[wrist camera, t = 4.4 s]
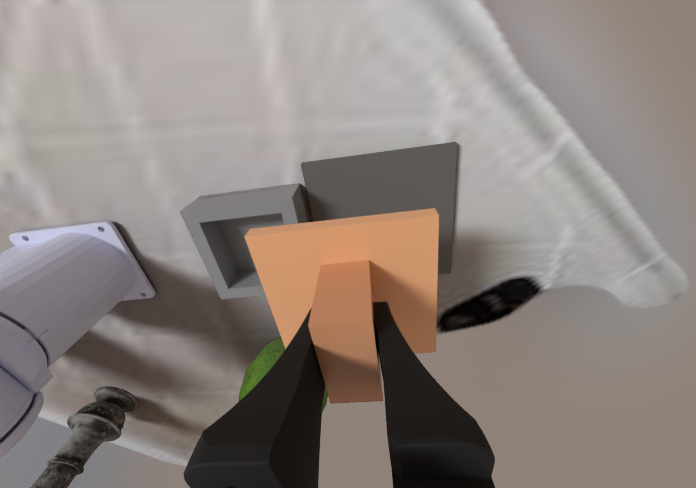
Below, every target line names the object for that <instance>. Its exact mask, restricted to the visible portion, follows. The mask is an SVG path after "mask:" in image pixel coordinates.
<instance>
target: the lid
mask: <svg viewBox="0 0 696 488" xmlns="http://www.w3.org/2000/svg"><path fill="white" fill-rule="evenodd" d="M244 237H245V240H246V242H247V245H248V248H249V251H250V253H251V256H252V259H253V262H254V264H255V267H256V270H257V272H258V275H259V278H260V281H261V283H262V286H263V289H264V292H265V294H266V297H267V300H268V303H269V305H270V308H271V311H272V313H273V316H274V319H275V322H276V324H277V327H278V330H279V333H280V335H281V338H282V341H283V344H284V346H285V349H286V348H287V346H288V345H289V343H290V342H291V340H292V339H293V337H294V336H295V334H296V333H297V331H298V330H299V328H300V326H301V325H302V323H303V321H304V319H305V318H306V316H307V314H308V312H309V310H310V309H311V308H312V309H311V314H310V319H309V324H308V327H309V330H310V334H311V337H312V341H313V344H314V348H315V351H316V354H317V358H318V361H319V365H320V368H321V372H322V375H323V379H324V382H325V386H326V389H327V392H328V396H329V399H330V403H349V402H370V401H383V396H382V382H381V369H380V359H379V353H378V345H377V337H376V329H375V321H374V312H373V302H383V301H386V302H388V305H389V308H390V311H391V313H392V316H393V318H394V320H395V322H396V324H397V326H398V328H399V330H400V332H401V333H402V335H403V337H404V339H405V340H406V342H407V343H408V345H409V347H410V348H411V350H412V351H413V352H414V353H428V352H436V321H437V280H438V239H439V214H438V213H437V211H436V209H435V208H431V209H422V210H414V211H405V212H396V213H387V214H378V215H369V216H360V217H351V218H343V219H334V220H325V221H316V222H307V223H298V224H289V225H281V226H272V227H263V228H254V229H250V230H249V231H248V232H247V234H246V235H245V236H244Z"/></svg>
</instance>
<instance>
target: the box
mask: <svg viewBox="0 0 696 488" xmlns="http://www.w3.org/2000/svg"><path fill="white" fill-rule="evenodd" d="M180 213H181V215H182V217H183V220H184V222H185V224H186V226H187V228H188V230H189V232H190V234H191V237H192V239H193V241H194V243H195V245H196V247H197V249H198V251H199V254H200V256H201V258H202V260H203V262H204V264H205V266H206V268H207V271H208V273H209V275H210V277H211V279H212V281H213V283H214V285H215V288H216V290H217V292H218V294H219V296H220V298H221V299H231V298H242V297H253V296H264V295H266V294H265V292H264V289H263V286H262V283H261V281H260V278H259V275H258V272H257V270H256V267H255V264H254V262H253V259H252V256H251V253H250V251H249V248H248V245H247V242H246V240H245V237H244V236H245V235H246V234H247V232H248V231H249V230H250V229H254V228H263V227H272V226H281V225H289V224H298V223H307V222H308V218H307V213H306V209H305V204H304V200H303V196H302V191H301V187H300V183H299V184H292V185H284V186H276V187H268V188H261V189H253V190H245V191H237V192H229V193H222V194H214V195H206V196H200V197H199V198H197V199H196V200H195V201H193V202H192V203H190V204H189V205H188V206H186V207H185V208H184V209H182V210H181V211H180Z"/></svg>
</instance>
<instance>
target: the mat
mask: <svg viewBox="0 0 696 488" xmlns="http://www.w3.org/2000/svg"><path fill="white" fill-rule="evenodd" d="M456 160H457V143H456V142H452V143H445V144H437V145H430V146H422V147H415V148H408V149H400V150H393V151H385V152H378V153H371V154H363V155H356V156H349V157H341V158H334V159H326V160H319V161H312V162H304V163H301V167H302V172H303V176H304V181H305V185H306V190H307V194H308V199H309V204H310V208H311V213H312V217H313V222H316V221H325V220H334V219H343V218H351V217H360V216H369V215H378V214H387V213H396V212H405V211H414V210H422V209H431V208H435V209H436V211H437V213H438V214H439V239H438V274H446V273H451V255H452V236H453V217H454V198H455V179H456Z"/></svg>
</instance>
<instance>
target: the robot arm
mask: <svg viewBox="0 0 696 488" xmlns="http://www.w3.org/2000/svg"><path fill="white" fill-rule="evenodd" d="M102 227H103V228H104V229H103V228H102ZM9 239H10V240H11V242H12V243H13V244H14V245H15V246H14V247H12V248H10V249H8V250H6V251H4V252H2V253H0V458H2V457H3V456H4V455H5V454H6V453H7V452H8V451H10V450H11V449H12V448H13V447H14V446H15V445H16V444H17V443H18V442H19V441H20V440H21V438H22V437H23V436H24V435H25V434H26V432H27V431H28V430H29V428H30V427H31V426H32V424H33V422H34V421H35V419H36V418H37V416H38V414H39V412H40V411H41V408H42V405H43V402H44V397H43V394H42V393H41V392H40V391H39V390H40V389H42V388H43V387H44V386H45V385H46V384H47V383H48V382H49V381H50V380H51V379H52V378H53V375H52V374H51V373H50V371H49V370H48V368H49V367H50V366H51V365H52V364H53V363H54V362H55V361H56V360H57V359H58V358H60V357H61V356H62V355H63V354H64V353H65V352H66V351H67V350H68V349H69V348H70V347H71V346H72V345H74V344H75V343H76V342H77V341H78V340H79V339H80V338H81V337H82V336H83V335H84V334H85V333H87V332H88V331H89V330H90V329H91V328H92V327H93V326H94V325H95V324H96V323H97V322H98V321H99V320H101V319H102V318H103V317H104V316H105V315H106V314H107V313H108V312H109V311H110V310H111V309H112V308H114V307H115V306H116V305H117V304H118V303H119V302H120V301H126V300H137V299H147V298H153V297H154V296H155V295H156V292H155V290H154V289H153V287H152V285H151V284H150V282H149V280H148V279H147V277H146V276H145V274H144V272H143V271H142V269H141V267H140V266H139V264H138V262H137V261H136V259H135V258H134V256H133V254H132V253H131V251H130V249H129V248H128V246H127V244H126V243H125V241H124V239H123V238H122V236H121V235H120V233H119V231H118V230H117V228H116V226H115V225H114V224H113V223H112V222H109V221H105V222H97V223H89V224H81V225H73V226H64V227H56V228H48V229H40V230H32V231H24V232H16V233H13V234H11V235H9ZM144 293H145V294H144ZM311 309H312V308H311ZM311 309H310V310H309V312H308V314H307V316H306V318H305V319H304V321H303V323H302V325H301V326H300V328H299V330H298V331H297V333H296V334H295V336H294V337H293V339H292V340H291V342H290V343H289V345H288V346H287V348H286V349H285V351H284V352H283V353H282V355H281V356H280V357H279V359H278V360H277V361H276V363H275V364H274V365H273V366H272V368H271V369H270V370H269V371H268V372H267V373H266V375H265V376H264V377H263V378H262V379H261V380H260V381H259V382H258V383H257V384H256V386H255V387H254V388H253V389H252V390H251V391H250V392H249V393H248V394H247V395H246V396H245V397H243V398H242V399H241V400H240V401H239V402H238V403H237V404H236V405H235V406H234V407H233V408H232V409H230V410H229V411H228V412H227V413H226V414H225V415H223V416H222V417H221V418H220V419H218V420H217V421H216V422H215V423H213V424H212V425H211V426H210V427H208V428H207V429H206V430H204V431H203V433H202V435H201V437H200V439H199V441H198V442H197V445H196V447H195V449H194V451H193V453H192V456H191V458H190V460H189V462H188V465H187V467H186V469H185V471H184V479H185V481H186V483H187V484H188V485H189V486H190V487H191V488H318V474H319V473H318V472H319V450H320V431H321V415H322V405H323V398H324V391H325V382H324V379H323V375H322V372H321V368H320V365H319V361H318V358H317V354H316V351H315V348H314V344H313V341H312V337H311V334H310V330H309V327H308V324H309V319H310V314H311ZM373 312H374V321H375V329H376V337H377V345H378V353H379V359H380V364H381V370H382V375H383V381H384V393H385V406H386V421H387V435H388V444H389V452H390V459H391V467H392V477H393V488H495V486H494V483H493V481H492V478H491V475H492V471H493V466H494V463H495V460H494V459H495V458H494V454H493V452H492V450H491V447H490V445H489V443H488V441H487V439H486V437H485V435H484V434H483V432H482V430H481V428H480V427H479V425H478V424H477V422H476V420H475V419H474V418H473V417H472V416H470V415H469V414H468V413H467V412H466V411H465V410H464V409H463V408H462V407H461V406H460V405H458V403H456V402H455V401H454V400H453V399H452V398H451V397H450V396H449V394H447V392H445V390H444V389H443V388H442V387H441V386H440V385H439V384H438V383H437V382H436V380H435V379H434V378H433V377H432V376H431V375H430V374H429V372H428V371H427V370H426V369H425V367H424V366H423V365H422V363H421V362H420V361H419V360H418V358H417V357H416V355H415V354H414V352H413V351H412V350H411V348H410V347H409V345H408V343H407V342H406V340H405V339H404V337H403V335H402V333H401V332H400V330H399V328H398V326H397V324H396V322H395V320H394V318H393V316H392V313H391V311H390V308H389V305H388V302H386V301H383V302H373Z"/></svg>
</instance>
